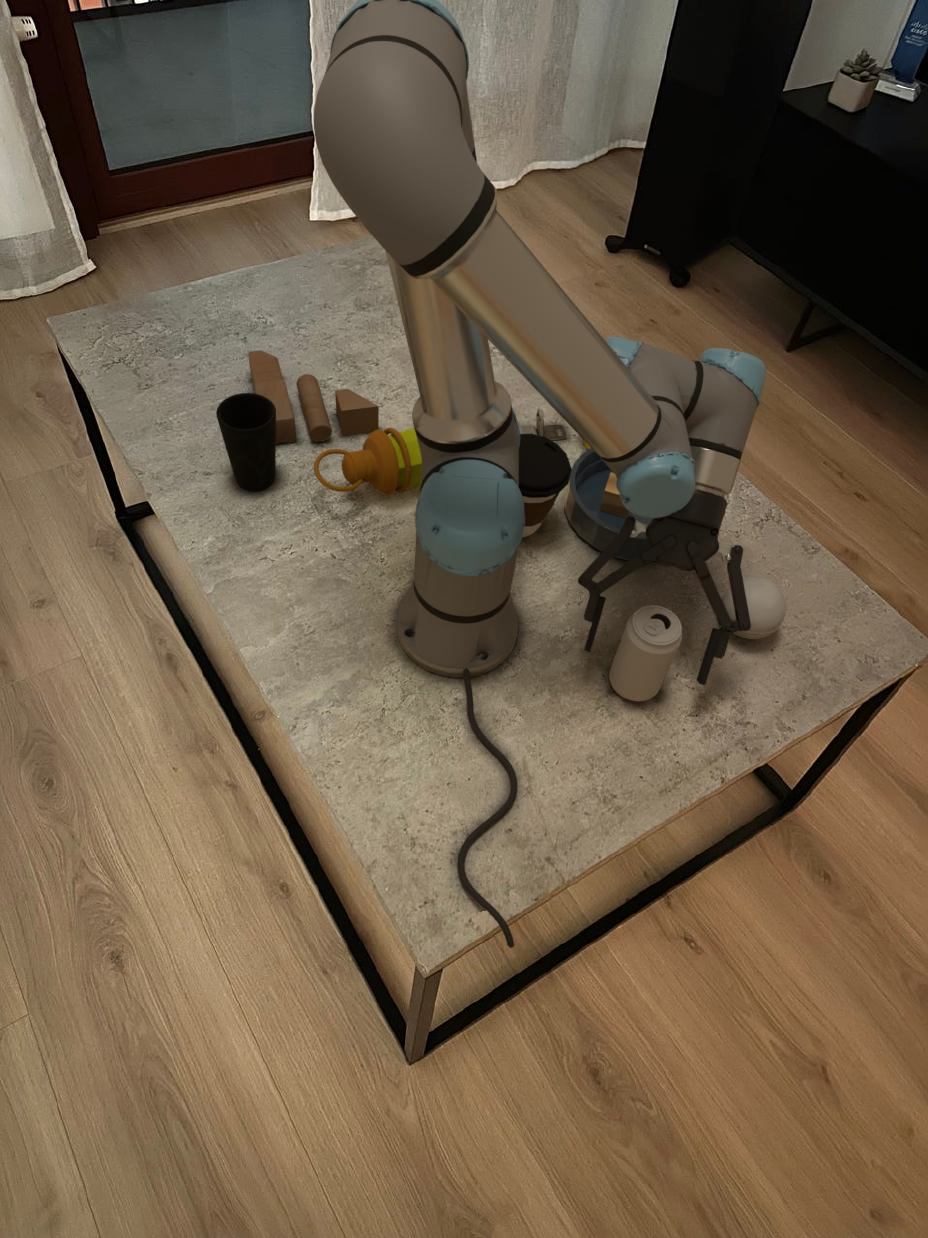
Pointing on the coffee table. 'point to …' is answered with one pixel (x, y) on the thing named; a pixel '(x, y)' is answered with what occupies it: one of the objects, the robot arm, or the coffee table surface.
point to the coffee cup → (540, 477)
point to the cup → (249, 439)
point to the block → (612, 499)
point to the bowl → (585, 506)
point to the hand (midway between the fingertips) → (643, 666)
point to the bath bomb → (759, 607)
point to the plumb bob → (380, 462)
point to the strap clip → (542, 428)
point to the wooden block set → (309, 403)
